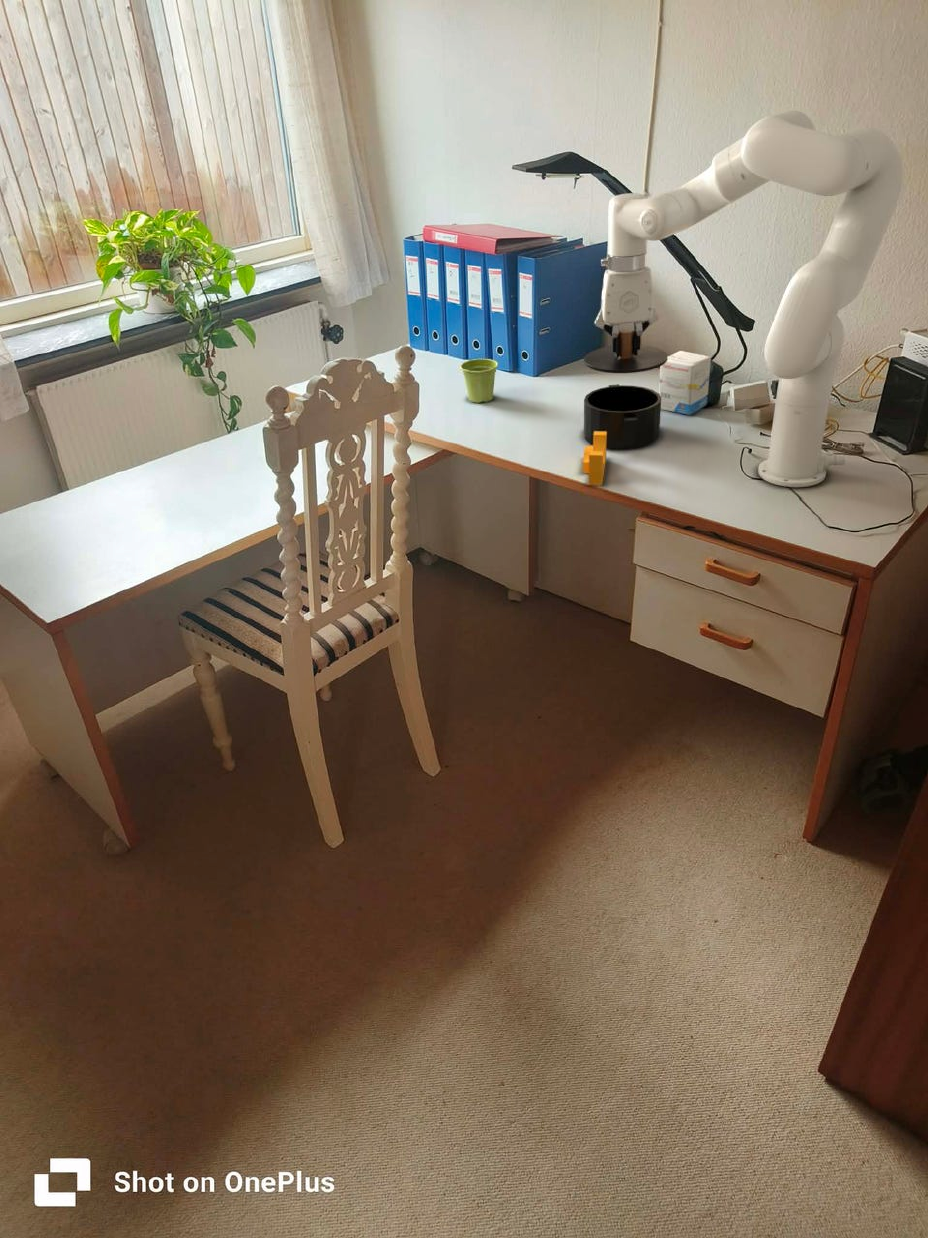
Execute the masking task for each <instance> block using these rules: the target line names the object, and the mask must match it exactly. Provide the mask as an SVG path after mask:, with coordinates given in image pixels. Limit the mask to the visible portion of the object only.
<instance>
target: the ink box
mask: <svg viewBox="0 0 928 1238" xmlns="http://www.w3.org/2000/svg"><path fill="white" fill-rule="evenodd" d="M711 361H712V356H709V355H704V354H700V353H699V354H698V353H693V352H689V351H688V352H687V351H684V350H678V351H677V352H675V353H672V354H670V355H668V360H667V362H666V363H665V364H664V365H662V366H660V367H659V385H658V386H659V387H658V393H659V395H660V396H661V410H663V411H669V412H673V413H677V414H683V415H687V416H692V414H694V413H696V412H698V411H699V410H701V409H702V408H704V407H706V406H707V405H708V397H707V395H708V396H709V386H710V375H711V374H710V373H711Z"/></svg>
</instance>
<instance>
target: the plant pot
mask: <svg viewBox="0 0 928 1238" xmlns="http://www.w3.org/2000/svg"><path fill="white" fill-rule="evenodd" d="M498 367H499V362H498V361H496V360H494V359H491V358H474V359H470V360H466V361H463V362H462V363H460V365H459V369H460V370H461V372H462V374H463V376H464V377H463V378H464V381H465V387H466V392H467V398H468V400H469V401H470V402H473V403H481V402H485V403H487V402H489V401H492V400H493V398H494V389H495V377H496V373H497V368H498Z"/></svg>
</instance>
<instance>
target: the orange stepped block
mask: <svg viewBox="0 0 928 1238" xmlns="http://www.w3.org/2000/svg"><path fill="white" fill-rule="evenodd" d="M606 439H607V432H606V431H594V434H593V445H585V447H584V450H583V457H582V474H588V486H603V481H604V475H605V469H606V463H607V449H606Z"/></svg>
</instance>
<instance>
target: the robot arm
mask: <svg viewBox="0 0 928 1238" xmlns="http://www.w3.org/2000/svg"><path fill="white" fill-rule="evenodd" d="M900 153H901V152H900V151H899V149H898V148H897V146H896V144H895V143H894V142H893V140H892V139H891V138H890V137H889V136H888V135H887V134H886V133H885V132H883V131H881V130H879V129H877V128H873V127H868V126H864V127H862V126H861V127H855V128H852V129H848V130H846V131H843V132H841V133H838V134H831V133H827V132H823V131H820V130H816V128H815V126H814V123H813V121H812V120H811V118H810V117H809V116H808V115H807V114H805V113H803V112H801V111H798V110H786V111H782V112H779V113H776V114H772V115H768V116H766V117H763V118H761V119H759V120H758V121H756V122H754V124H752V126H751V127H750V128H749V129H748V130H747V132H746V133H745V134H744V136H743V137H741V138H740V139H738V140H737V141H735V142H733V143H732V144H730V145H729V146H727V147H725V148H724V149H722V150H720V151H719V152H717V153H716V154H715V155H714V156H713V158H712V160H711V164H710V166H709V167H708V168H707V169H706V170H704V171H703V172H701V173H700V174H699V175H697V176H695V177H694V178H692V179H691V180H689V181H687V182H686V183H684V184H683V185H681V186H679V187H677V188H675V189H673V190H670V191H666V192H664V193H660V194H659V195H655V196H651V197H647V195H645V194H642V193H637V192H635V193H634V192H630V193H629V192H628V193H621V194H617V195H614V196H613V197H611V199H610V200H609V203H608V225H607V226H608V227H607V228H608V229H607V230H608V232H607V235H608V239H607V241H608V243H607V244H608V245H607V246H608V247H607V249H608V251H607V252H608V253H607V256H606V257H604V258H601V259H600V266H601V267H606V268H607V269H606V270H605V271H604V274H603V280H602V289H601V299H600V309H599V312H598V314H597V316H596V318H595V319H594V322H593V324H594V325H595V327H597V328H599V329H601V330H603V331H605V332H606V333H607V334H608V335H609V336H610V337H611V346H612V352H614V354H615V356H616V357H619V356H620V338H619V330H620V329H619V327H620V325H623V324H633V355H635V356H636V355H637V353H638V350H640V345H641V336H642V335H643V333H644V332H645V331H646V330H647V329H648V327H650V325H651V326H652V325H653V324H654V323H656V322H658V321H659V316H658V314H657V312H656V309H655V308H654V289H653V278H652V277H653V276H652V271H651V268H650V267H648V266H647V260H648V259H647V257H648V256H647V255H648V254H647V253H648V241H655V242H656V241H661V240H664V239H666V238H668V237H671V236H673V235H675V234H677V233H680V232H683V231H686V230H688V229H690V228H691V227H693V226H695V225H697V224H699V223H700V222H702V221H703V220H706V219H707V218H708V217H710V216H712V215H713V214H716V213H717V212H719V211H721V210H722V209H724V208H725V207H727V206H729V205H731V204H734V203H735V202H736V201H739V200H740V199H742V198H743V197H745V196H746V195H748V194H750V193H751V192H753V191H755V190H756V189H758V188H760V187H762V186H764V185H765V184H767V183H768V182H770V181H771V182H774V183H776V184H779V185H783V186H786V187H790V188H793V189H796V190H799V191H802V192H806V193H810V194H813V195H816V196H822V197H835V196H839V195H842V194H844V193H845V196H844V199H843V201H842V203H841V205H840V207H839V209H838V211H837V213H836V214H835V216H834V218H833V221H832V223H831V226H830V229H829V230H828V231H829V232H828V233H827V236H826V238H825V241H824V243H823V245H822V247H821V249H820V251H819V253H818V254H817V256H816V257H815V258H814V259H812V260H810V261H809V262H807V263H805V264H803V266H801V267H800V268H799V269H798V270H797V271H796V272H795V273H794V275H793V276H792V278H791V279H790V281H789V282H788V285H787V286H786V289H785V290H784V293H783V296H782V298H781V301H780V304H779V305H778V309H777V311H776V314H775V316H774V319H773V322H772V324H771V327H770V329H769V331H768V334H767V337H766V340H765V343H764V344H765V345H764V352H763V353H764V361H765V364H766V367H767V368H768V370H769V371H770V372H771V374H773V375H774V376H776V377H778V384H777V390H776V397H775V404H774V410H773V419H772V427H771V433H770V439H769V448H768V456H767V458H766V459H765V460H763V461H761V462H760V463H759V465H758V469H757V473H758V476H760V478H761V479H762V480H764V481H766V482H768V483H769V484H773V485H776V486H780V487H786V488H806V487H813V486H815V485H818V484H820V483H822V482H823V481H824V480H825V479H826V474H827V470H826V468H828V467H829V466H842V465H845V464H846V463H845V462H846V457H845V454H835V455H834V451H824V452H823V451H822V449H823V443H824V436H825V431H826V426H827V425H826V424H827V419H828V414H829V413H828V412H829V407H830V401H831V396H832V390H833V386H834V381H835V376H836V372H837V368H838V365H839V361H840V358H841V354H842V352H843V348H844V341H845V329H844V324H843V322H842V320H841V318H840V317H839V316H838V314H839V312H840V311H841V310H842V309H844V308H845V307H847V306H848V305H850V304H851V303H852V302H853V301H854V300H855V299H856V298H857V297H858V296H859V295H860V293H861V291H862V289H863V288H864V287H863V286H864V284H865V282H866V279H867V278H868V274H869V272H870V270H871V267H872V265H873V263H874V261H875V259H876V257H877V254H878V251H879V249H880V247H881V244H882V241H883V239H884V236H885V234H886V233H887V230H888V228H889V226H890V223H891V220H892V218H893V216H894V213H895V211H896V209H897V206H898V203H899V200H900V198H901V193H902V190H903V184H904V165H903V160H902V156H901V154H900Z"/></svg>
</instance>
